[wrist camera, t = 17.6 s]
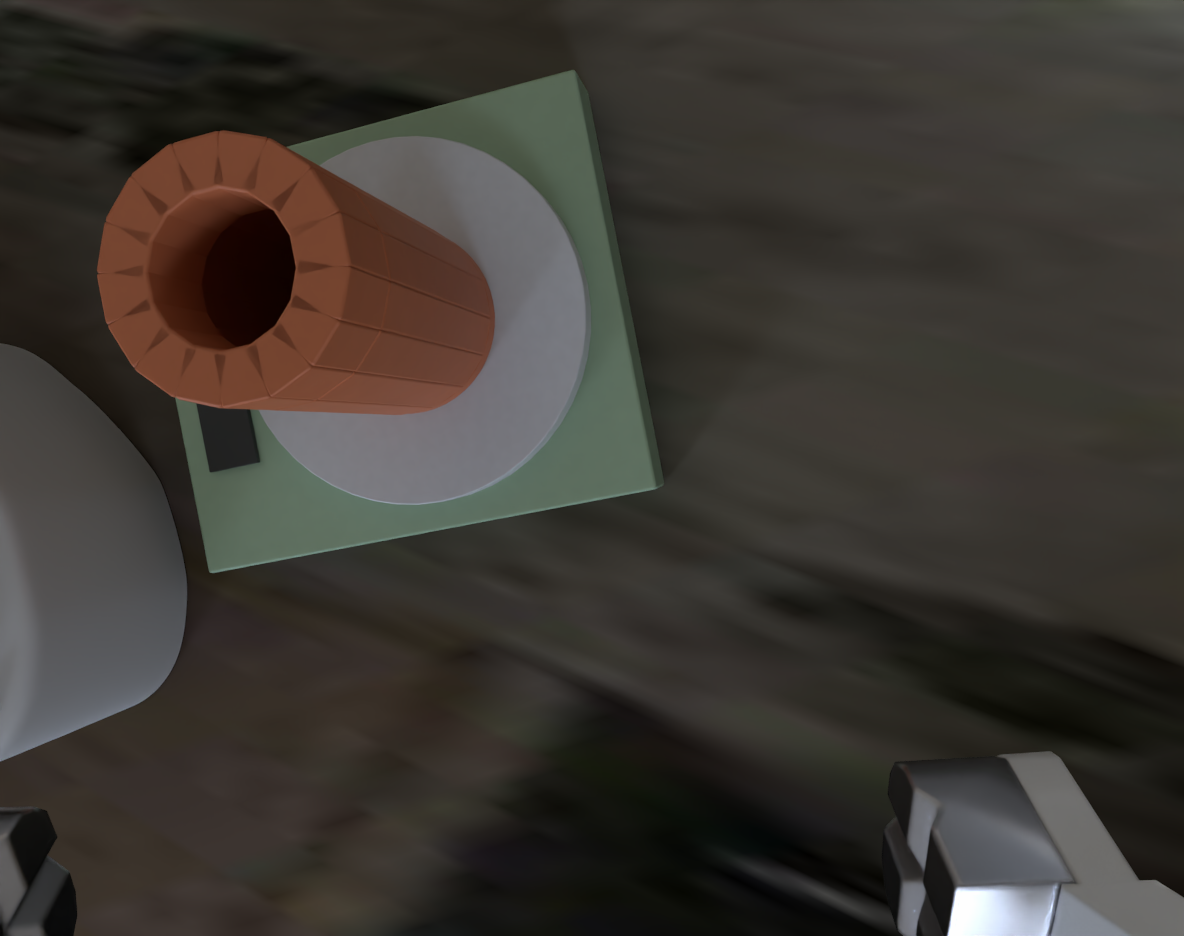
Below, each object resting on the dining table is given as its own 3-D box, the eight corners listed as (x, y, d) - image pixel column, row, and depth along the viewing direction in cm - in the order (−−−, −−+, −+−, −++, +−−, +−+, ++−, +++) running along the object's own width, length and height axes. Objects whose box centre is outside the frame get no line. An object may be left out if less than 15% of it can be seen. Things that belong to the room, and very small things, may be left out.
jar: (475, 210, 30) (318, 101, 20) (511, 393, 30) (372, 375, 20) (305, 252, 30) (74, 168, 21) (340, 430, 30) (125, 430, 21)
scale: (588, 90, 32) (568, 58, 29) (665, 485, 32) (653, 490, 29) (170, 201, 34) (116, 181, 32) (241, 565, 34) (193, 577, 32)
